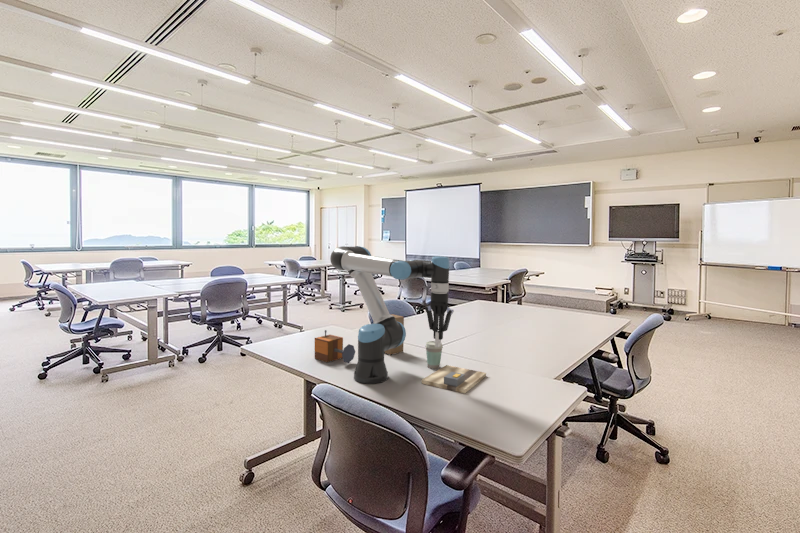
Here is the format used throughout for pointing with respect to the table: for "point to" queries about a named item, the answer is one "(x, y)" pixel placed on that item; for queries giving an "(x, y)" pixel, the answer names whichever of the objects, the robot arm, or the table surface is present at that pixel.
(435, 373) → the plywood panel
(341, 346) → the wooden box with disc
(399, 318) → the wooden block
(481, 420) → the table surface
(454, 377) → the block
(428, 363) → the coffee cup
